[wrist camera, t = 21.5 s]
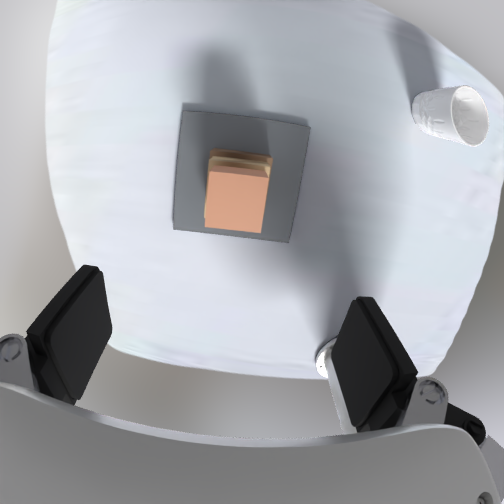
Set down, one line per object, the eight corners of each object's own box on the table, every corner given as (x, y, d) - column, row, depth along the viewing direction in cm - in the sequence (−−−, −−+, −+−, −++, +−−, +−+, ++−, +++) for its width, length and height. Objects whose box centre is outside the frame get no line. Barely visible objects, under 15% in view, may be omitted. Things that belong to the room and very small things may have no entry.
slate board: (308, 127, 33) (310, 127, 32) (287, 240, 39) (288, 243, 38) (184, 111, 31) (182, 110, 30) (174, 226, 38) (173, 229, 37)
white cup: (418, 78, 29) (460, 72, 20) (451, 108, 30) (494, 112, 21) (400, 118, 32) (443, 121, 23) (435, 147, 33) (478, 158, 24)
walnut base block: (269, 155, 33) (273, 158, 30) (261, 207, 36) (263, 217, 33) (214, 148, 33) (210, 150, 29) (208, 201, 36) (204, 209, 32)
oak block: (267, 162, 30) (270, 166, 26) (259, 212, 32) (262, 224, 29) (213, 156, 29) (209, 160, 26) (208, 207, 32) (203, 217, 28)
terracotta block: (265, 170, 26) (269, 178, 23) (258, 218, 28) (260, 233, 25) (214, 165, 26) (209, 171, 22) (209, 213, 28) (204, 226, 24)
